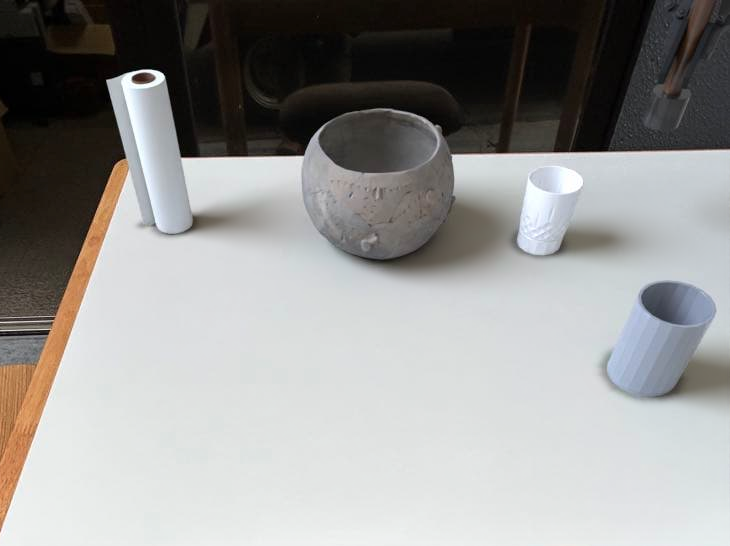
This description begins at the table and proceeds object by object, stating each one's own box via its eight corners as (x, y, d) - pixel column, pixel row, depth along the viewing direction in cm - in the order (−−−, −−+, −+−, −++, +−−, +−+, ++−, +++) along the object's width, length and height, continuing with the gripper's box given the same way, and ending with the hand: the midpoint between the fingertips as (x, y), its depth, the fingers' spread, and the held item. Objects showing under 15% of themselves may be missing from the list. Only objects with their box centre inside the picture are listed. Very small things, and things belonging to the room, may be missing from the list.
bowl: (278, 255, 102) (269, 155, 90) (340, 185, 114) (340, 87, 101) (414, 293, 97) (425, 192, 84) (466, 214, 108) (482, 115, 95)
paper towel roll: (200, 221, 108) (173, 73, 90) (176, 239, 105) (143, 90, 88) (168, 208, 110) (135, 62, 93) (144, 225, 108) (105, 78, 90)
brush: (682, 119, 94) (743, -33, 79) (673, 134, 91) (735, -20, 77) (647, 111, 95) (701, -39, 81) (638, 126, 93) (692, -26, 79)
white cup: (518, 225, 106) (534, 161, 97) (567, 235, 104) (587, 170, 96) (508, 252, 102) (523, 188, 93) (559, 262, 100) (578, 198, 92)
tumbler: (682, 365, 87) (723, 293, 78) (666, 406, 83) (707, 336, 74) (617, 344, 89) (649, 272, 80) (598, 383, 85) (629, 312, 76)
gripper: (822, -96, 81) (728, 107, 87) (695, -110, 85) (613, 84, 92) (845, -147, 74) (741, 78, 80) (705, -160, 79) (616, 53, 85)
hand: (673, 80), depth 86 cm, fingers closed on brush, 2 cm apart
